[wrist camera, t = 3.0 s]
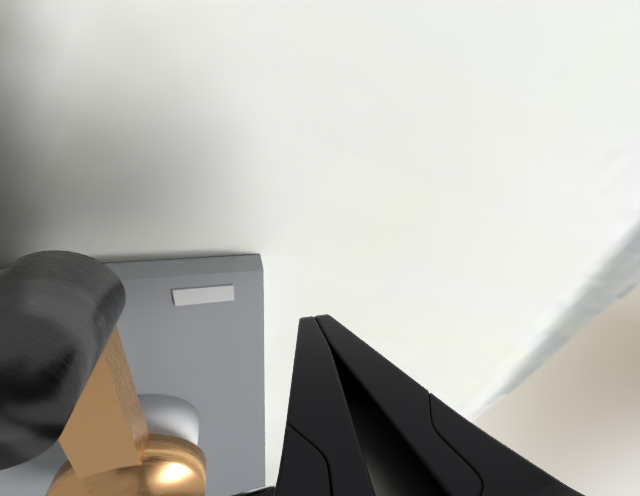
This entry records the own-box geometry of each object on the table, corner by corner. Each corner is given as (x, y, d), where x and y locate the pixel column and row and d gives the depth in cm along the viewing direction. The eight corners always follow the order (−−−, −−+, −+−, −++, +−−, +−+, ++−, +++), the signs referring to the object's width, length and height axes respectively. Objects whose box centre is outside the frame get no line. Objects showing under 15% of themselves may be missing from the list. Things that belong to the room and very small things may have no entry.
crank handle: (211, 492, 15) (207, 606, 12) (75, 529, 13) (23, 675, 10) (170, 245, 9) (133, 338, 5) (-98, 257, 7) (-404, 405, 4)
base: (263, 463, 22) (268, 521, 19) (-53, 545, 17) (-114, 641, 14) (260, 254, 14) (268, 296, 11) (-341, 288, 9) (-631, 385, 6)
